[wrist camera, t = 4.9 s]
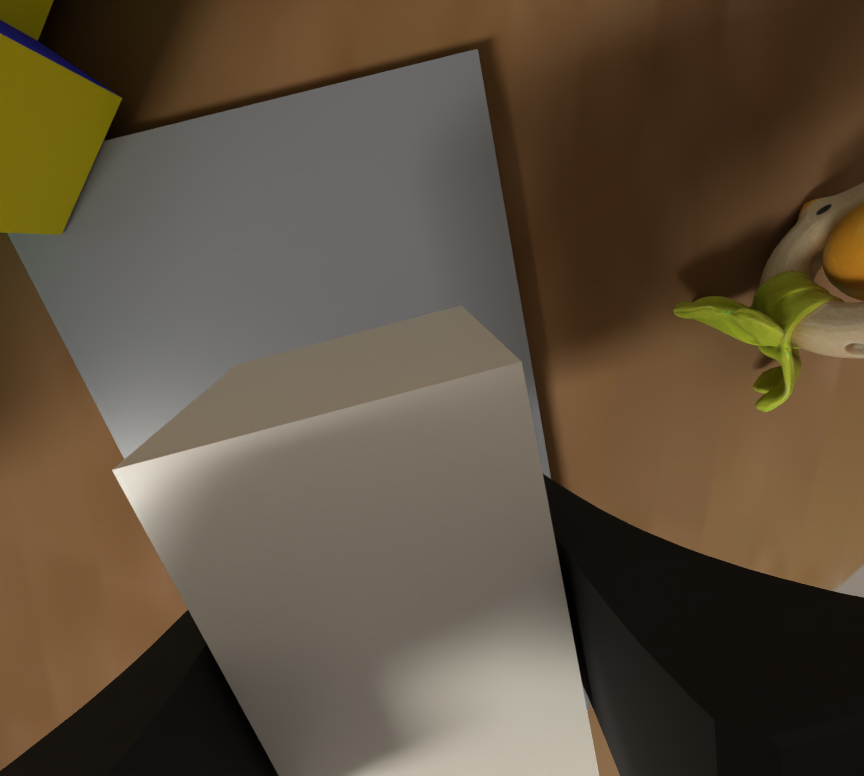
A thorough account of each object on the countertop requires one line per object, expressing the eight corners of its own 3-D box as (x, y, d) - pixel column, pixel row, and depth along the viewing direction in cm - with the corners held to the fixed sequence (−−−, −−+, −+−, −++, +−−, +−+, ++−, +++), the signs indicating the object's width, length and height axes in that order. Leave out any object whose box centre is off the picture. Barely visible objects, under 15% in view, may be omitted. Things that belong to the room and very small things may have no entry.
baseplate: (297, 770, 25) (294, 789, 24) (-4, 176, 15) (-28, 172, 14) (584, 694, 25) (591, 710, 24) (473, 57, 15) (478, 47, 14)
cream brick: (362, 674, 12) (349, 904, 8) (236, 364, 9) (111, 470, 5) (533, 628, 12) (609, 832, 8) (461, 305, 9) (522, 361, 5)
